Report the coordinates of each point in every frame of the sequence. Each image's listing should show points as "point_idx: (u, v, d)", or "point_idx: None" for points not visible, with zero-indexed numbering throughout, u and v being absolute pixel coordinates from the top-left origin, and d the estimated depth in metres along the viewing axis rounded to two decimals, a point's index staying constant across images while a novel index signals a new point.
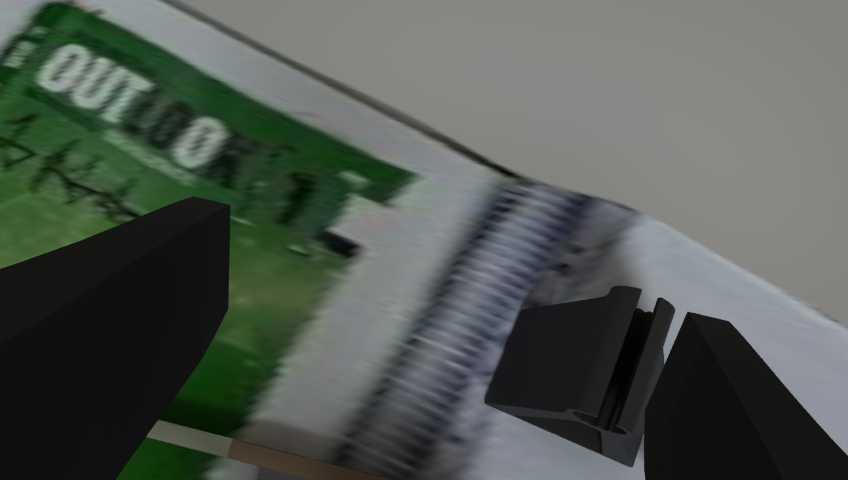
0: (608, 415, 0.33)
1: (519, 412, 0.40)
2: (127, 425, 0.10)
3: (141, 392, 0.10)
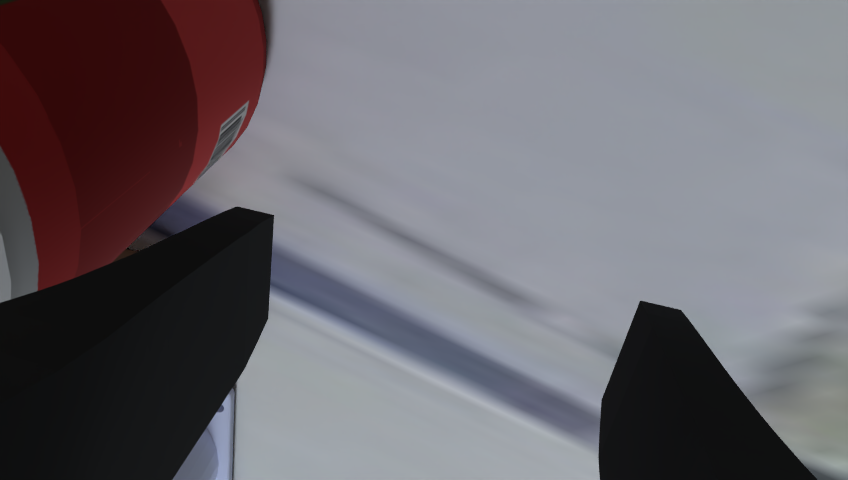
0: None
1: None
2: (177, 438, 0.10)
3: (190, 404, 0.10)
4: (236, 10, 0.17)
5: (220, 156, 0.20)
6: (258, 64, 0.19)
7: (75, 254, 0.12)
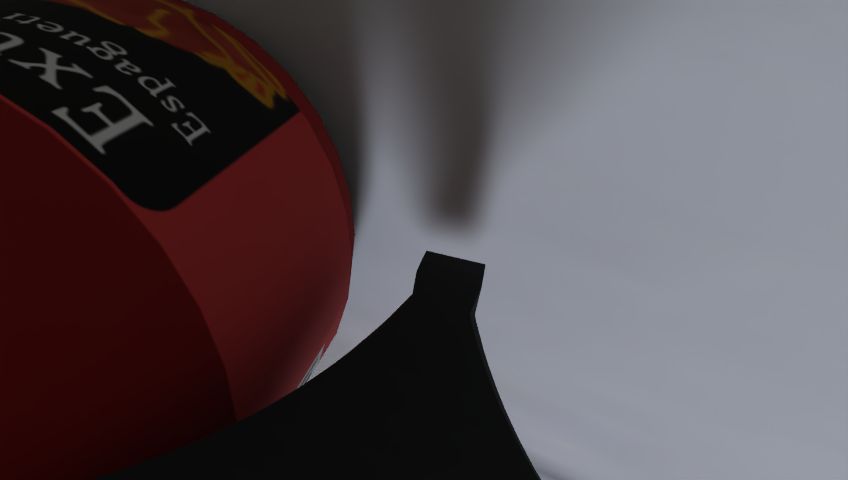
0: None
1: None
2: None
3: None
4: (313, 218, 0.10)
5: None
6: (342, 286, 0.11)
7: None
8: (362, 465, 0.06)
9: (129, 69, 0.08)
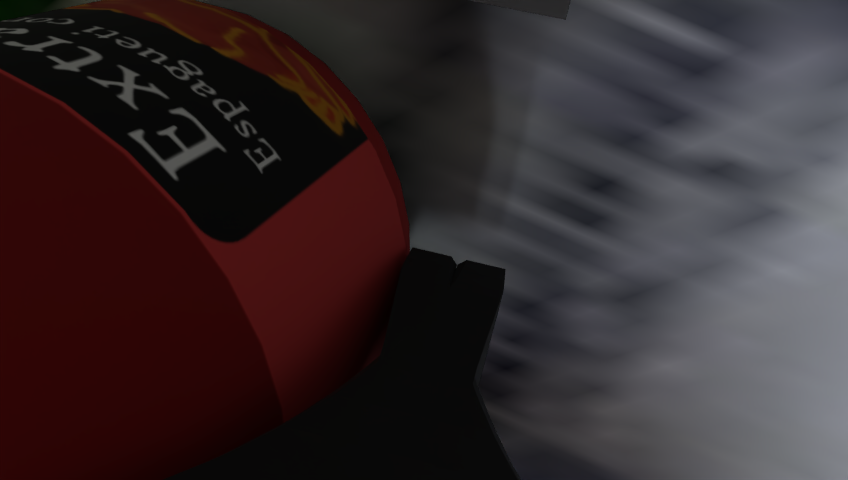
0: None
1: None
2: None
3: None
4: (374, 251, 0.10)
5: None
6: None
7: None
8: (337, 458, 0.06)
9: (204, 90, 0.08)
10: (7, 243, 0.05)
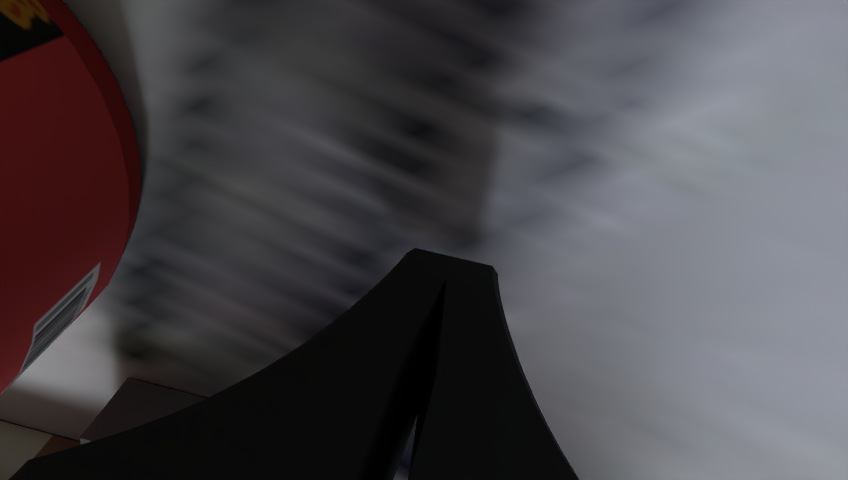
0: None
1: None
2: None
3: (393, 456, 0.10)
4: (70, 137, 0.11)
5: (59, 334, 0.13)
6: (117, 207, 0.12)
7: None
8: (412, 478, 0.06)
9: None
10: None
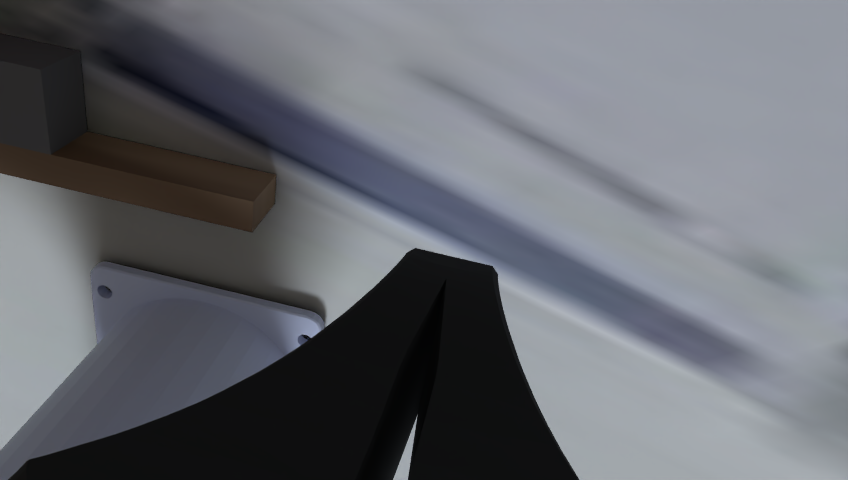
0: None
1: None
2: None
3: (393, 456, 0.10)
4: None
5: None
6: None
7: None
8: (412, 478, 0.06)
9: None
10: None
